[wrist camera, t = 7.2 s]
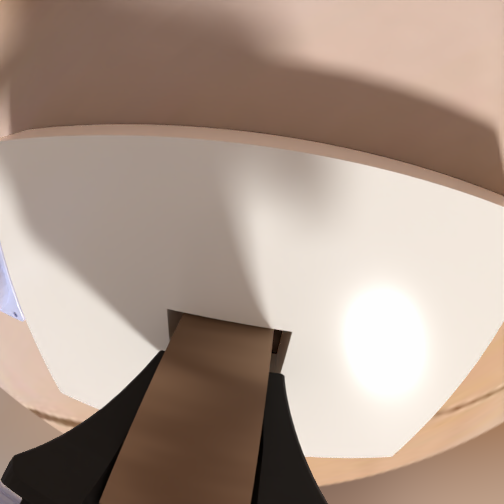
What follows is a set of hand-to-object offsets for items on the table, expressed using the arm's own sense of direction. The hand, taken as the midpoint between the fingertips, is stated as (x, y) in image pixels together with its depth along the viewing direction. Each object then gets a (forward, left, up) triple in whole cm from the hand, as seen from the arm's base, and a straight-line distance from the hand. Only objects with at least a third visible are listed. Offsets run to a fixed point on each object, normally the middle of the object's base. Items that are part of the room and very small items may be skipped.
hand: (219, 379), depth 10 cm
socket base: (0, 0, -4) cm, 4 cm away
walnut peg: (0, +1, -3) cm, 3 cm away
